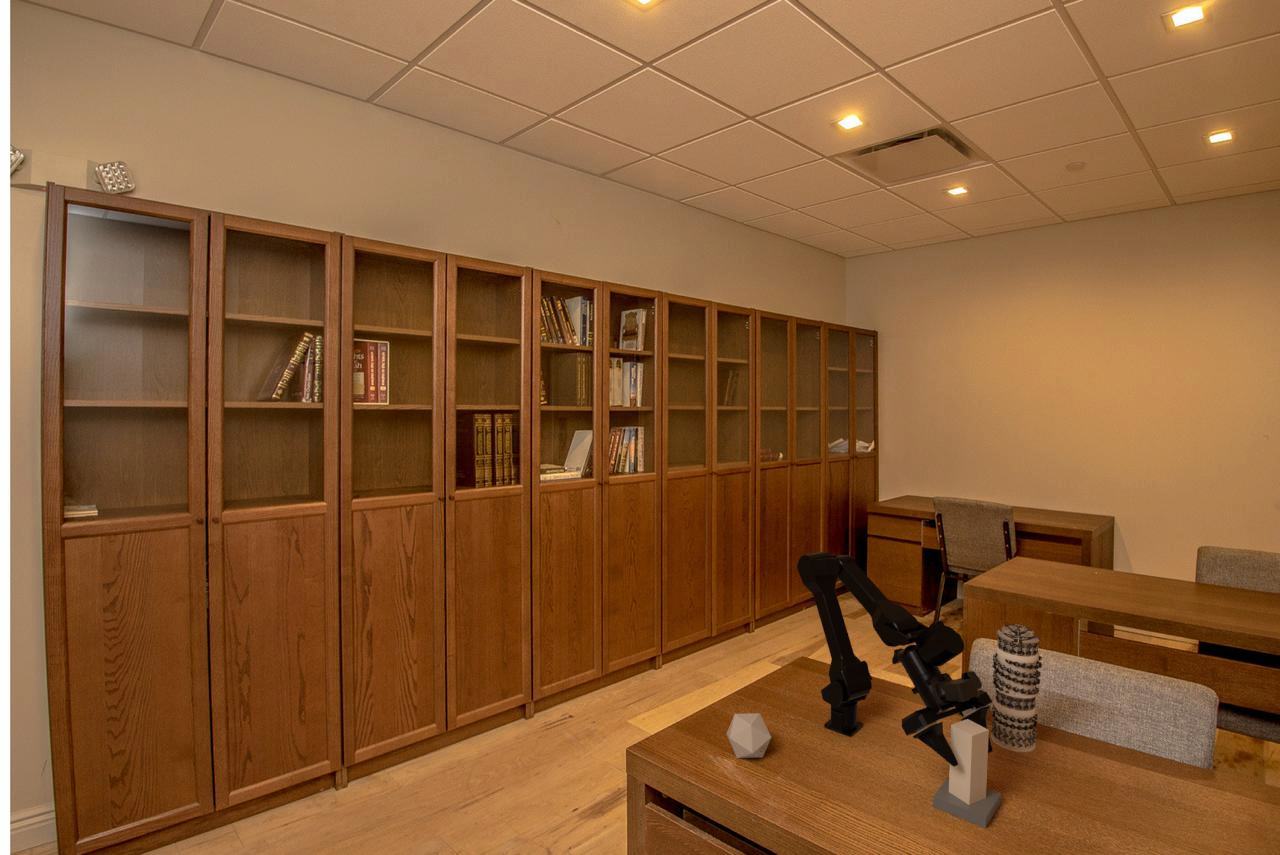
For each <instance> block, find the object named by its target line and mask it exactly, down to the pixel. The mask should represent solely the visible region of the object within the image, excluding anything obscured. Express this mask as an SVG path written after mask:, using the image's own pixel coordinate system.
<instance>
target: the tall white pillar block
mask: <svg viewBox="0 0 1280 855" xmlns="http://www.w3.org/2000/svg"><path fill="white" fill-rule="evenodd" d="M989 731H990V730H989V729H988V728H987V729H986V728H984V727H982V726H980V725H978V724H976V723H974V722H973V721H971V720H969V719H966V720H963V721H961V720H960V721H958V722H954V723H952V724H950V743H949V746H950V747H951V749H952V751H953V753H954V755H955V757H956V760H957V762H958V765H957V766H955V767H954V766H952V765H951V764H950V763H949V773H948V774H949V776H948V777H949V792H950V793H951V794H953V795H954V796H956V797H958V798H959V799H961V800H962V801H964V802H965V803H967V804H968V805H971V804H973V803H975V802H978V801H980V800H983V799H985V798H986V788H987V779H988V778H987V775H988V761H989V760H988V757H989V756H988V754H989V753H988V737H990V734H989V733H990V732H989Z"/></svg>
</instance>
